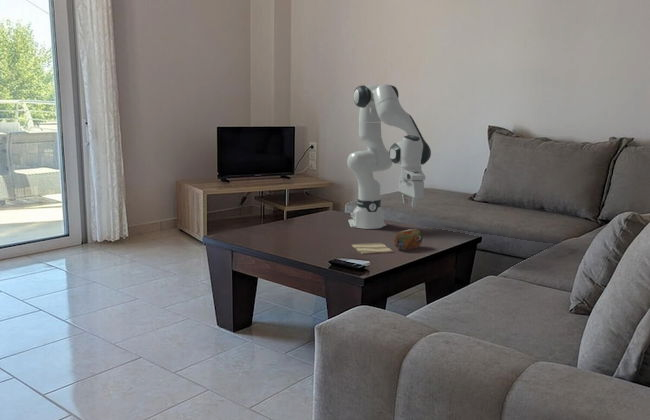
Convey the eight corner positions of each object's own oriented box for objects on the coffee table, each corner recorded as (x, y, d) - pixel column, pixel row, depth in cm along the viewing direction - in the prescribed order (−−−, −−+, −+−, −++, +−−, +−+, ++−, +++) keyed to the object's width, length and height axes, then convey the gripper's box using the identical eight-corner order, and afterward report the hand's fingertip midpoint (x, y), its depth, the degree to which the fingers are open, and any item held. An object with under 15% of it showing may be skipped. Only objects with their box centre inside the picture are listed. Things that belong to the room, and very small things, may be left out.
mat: (351, 245, 263) (351, 244, 263) (381, 244, 267) (381, 242, 267) (361, 254, 249) (361, 252, 249) (393, 252, 252) (393, 251, 252)
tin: (397, 251, 254) (398, 232, 253) (392, 250, 257) (393, 231, 255) (422, 246, 263) (423, 228, 261) (417, 245, 266) (418, 227, 264)
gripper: (395, 171, 263) (394, 201, 265) (412, 176, 243) (411, 209, 246) (408, 170, 264) (407, 201, 267) (427, 176, 245) (425, 209, 247)
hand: (409, 205), depth 256 cm, fingers open, 8 cm apart
